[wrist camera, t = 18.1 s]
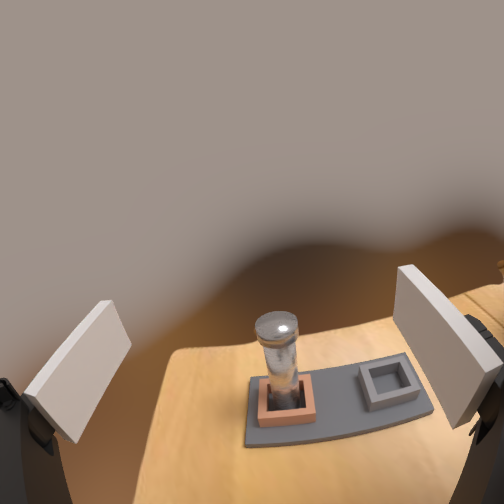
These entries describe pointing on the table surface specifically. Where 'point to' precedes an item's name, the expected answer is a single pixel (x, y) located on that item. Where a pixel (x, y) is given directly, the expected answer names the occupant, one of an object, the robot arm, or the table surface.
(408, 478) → the table surface
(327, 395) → the dock board
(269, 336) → the pin
